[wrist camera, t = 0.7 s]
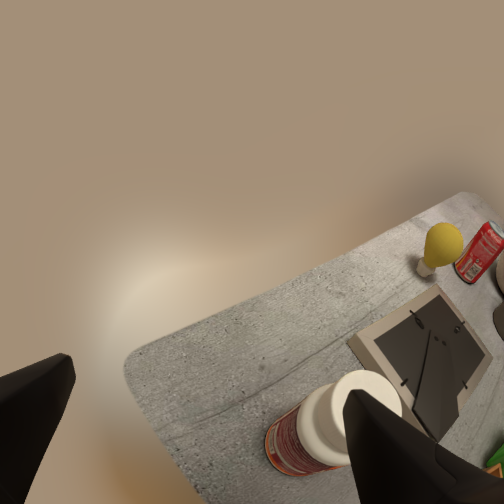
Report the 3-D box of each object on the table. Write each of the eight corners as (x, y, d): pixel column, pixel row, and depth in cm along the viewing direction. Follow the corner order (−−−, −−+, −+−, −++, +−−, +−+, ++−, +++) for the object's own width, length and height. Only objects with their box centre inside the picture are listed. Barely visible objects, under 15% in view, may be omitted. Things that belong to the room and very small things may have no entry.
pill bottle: (301, 489, 20) (382, 475, 12) (248, 446, 22) (302, 413, 14) (339, 440, 24) (421, 399, 16) (292, 401, 26) (355, 344, 18)
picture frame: (420, 449, 24) (484, 365, 34) (438, 442, 22) (496, 355, 32) (346, 342, 32) (429, 291, 43) (359, 329, 30) (439, 280, 41)
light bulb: (431, 294, 42) (469, 250, 36) (401, 267, 45) (435, 221, 38) (439, 276, 47) (472, 235, 40) (412, 252, 49) (442, 209, 42)
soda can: (451, 271, 49) (488, 224, 41) (454, 257, 53) (486, 213, 45) (473, 290, 47) (511, 246, 39) (474, 274, 51) (508, 233, 43)
